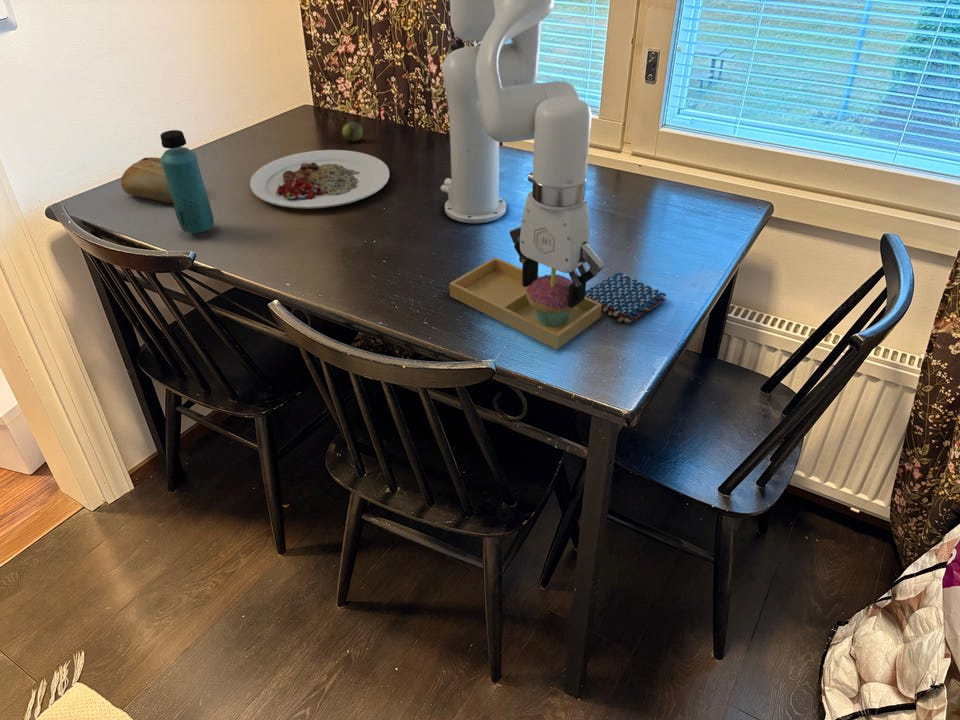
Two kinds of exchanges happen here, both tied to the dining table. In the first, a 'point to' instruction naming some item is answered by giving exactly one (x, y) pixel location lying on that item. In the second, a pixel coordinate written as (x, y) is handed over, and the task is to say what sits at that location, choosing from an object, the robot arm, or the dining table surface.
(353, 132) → the lime
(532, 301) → the cupcake
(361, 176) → the plated food
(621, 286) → the woven mat
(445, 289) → the dining table surface
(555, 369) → the dining table surface
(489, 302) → the divided tray
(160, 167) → the bread roll
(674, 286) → the dining table surface
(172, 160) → the beverage bottle
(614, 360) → the dining table surface
